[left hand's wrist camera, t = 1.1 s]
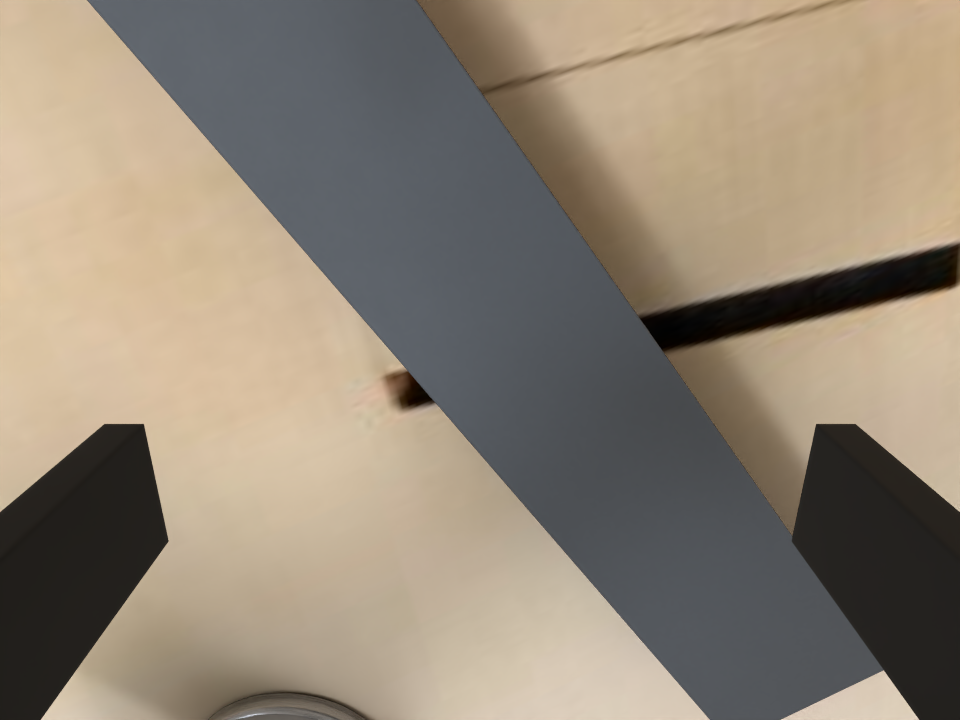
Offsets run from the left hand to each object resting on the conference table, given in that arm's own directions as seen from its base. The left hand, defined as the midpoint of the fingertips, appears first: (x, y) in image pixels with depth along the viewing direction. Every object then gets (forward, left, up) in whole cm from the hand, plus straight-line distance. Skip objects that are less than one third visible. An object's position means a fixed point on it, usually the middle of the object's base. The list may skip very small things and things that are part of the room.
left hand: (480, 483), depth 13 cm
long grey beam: (+5, +9, -23) cm, 25 cm away
